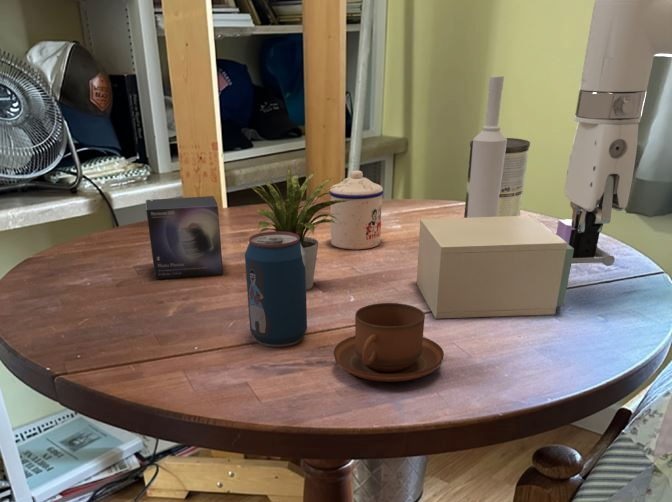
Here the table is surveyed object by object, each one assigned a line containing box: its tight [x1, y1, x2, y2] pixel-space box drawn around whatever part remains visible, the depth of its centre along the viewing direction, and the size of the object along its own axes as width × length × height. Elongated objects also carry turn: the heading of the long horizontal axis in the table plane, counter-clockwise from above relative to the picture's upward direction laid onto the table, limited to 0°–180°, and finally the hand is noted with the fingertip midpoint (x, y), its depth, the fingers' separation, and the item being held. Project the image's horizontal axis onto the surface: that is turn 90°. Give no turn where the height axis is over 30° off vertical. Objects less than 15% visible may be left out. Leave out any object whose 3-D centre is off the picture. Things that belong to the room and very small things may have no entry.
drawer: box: [556, 244, 616, 307], centre depth 94 cm, size 22×13×7 cm, turn 93°
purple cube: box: [555, 218, 575, 245], centre depth 116 cm, size 4×4×4 cm
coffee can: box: [463, 137, 531, 218], centre depth 127 cm, size 10×10×14 cm
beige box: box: [415, 215, 567, 320], centre depth 94 cm, size 16×15×9 cm
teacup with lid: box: [328, 170, 384, 250], centre depth 120 cm, size 12×9×12 cm
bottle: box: [467, 75, 508, 218], centre depth 111 cm, size 5×5×25 cm
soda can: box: [244, 231, 308, 348], centre depth 82 cm, size 7×7×12 cm
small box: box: [145, 195, 224, 280], centre depth 107 cm, size 11×6×10 cm, turn 102°
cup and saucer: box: [333, 302, 445, 383], centre depth 76 cm, size 12×12×6 cm
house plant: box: [246, 165, 351, 291], centre depth 97 cm, size 14×14×16 cm
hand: (579, 260), depth 94 cm, fingers closed
